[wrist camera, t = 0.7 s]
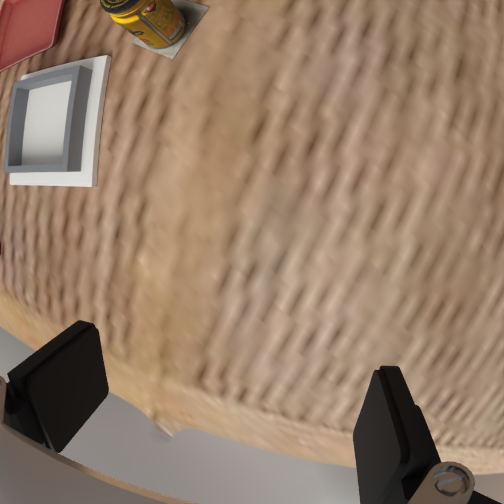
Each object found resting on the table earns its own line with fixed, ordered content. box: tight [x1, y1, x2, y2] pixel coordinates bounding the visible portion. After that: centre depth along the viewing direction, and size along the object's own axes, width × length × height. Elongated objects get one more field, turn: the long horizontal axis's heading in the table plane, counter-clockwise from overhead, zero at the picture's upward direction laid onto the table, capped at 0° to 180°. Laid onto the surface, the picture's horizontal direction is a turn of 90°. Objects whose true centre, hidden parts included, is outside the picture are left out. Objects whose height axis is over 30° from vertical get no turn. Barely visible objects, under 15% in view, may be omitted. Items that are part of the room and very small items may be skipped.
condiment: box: [100, 0, 209, 59], centre depth 27 cm, size 7×8×12 cm
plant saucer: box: [0, 0, 65, 72], centre depth 33 cm, size 18×18×3 cm
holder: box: [4, 55, 112, 187], centre depth 36 cm, size 18×18×4 cm
